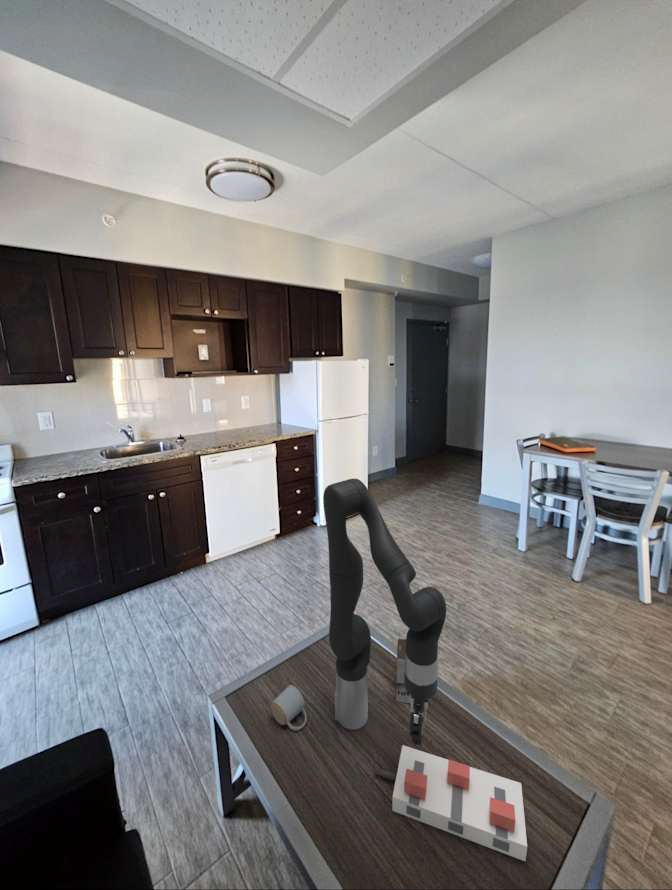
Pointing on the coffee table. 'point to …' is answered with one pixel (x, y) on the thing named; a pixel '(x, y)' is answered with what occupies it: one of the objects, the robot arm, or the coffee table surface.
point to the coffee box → (401, 672)
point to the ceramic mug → (288, 707)
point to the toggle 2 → (458, 774)
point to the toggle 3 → (502, 814)
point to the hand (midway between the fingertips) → (419, 726)
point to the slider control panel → (460, 802)
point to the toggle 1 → (415, 784)
